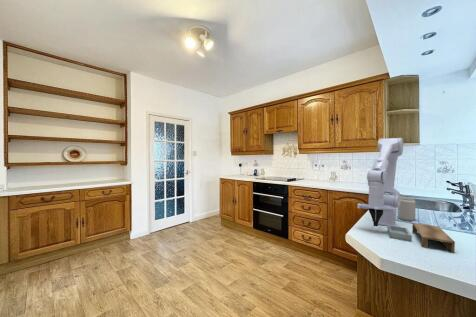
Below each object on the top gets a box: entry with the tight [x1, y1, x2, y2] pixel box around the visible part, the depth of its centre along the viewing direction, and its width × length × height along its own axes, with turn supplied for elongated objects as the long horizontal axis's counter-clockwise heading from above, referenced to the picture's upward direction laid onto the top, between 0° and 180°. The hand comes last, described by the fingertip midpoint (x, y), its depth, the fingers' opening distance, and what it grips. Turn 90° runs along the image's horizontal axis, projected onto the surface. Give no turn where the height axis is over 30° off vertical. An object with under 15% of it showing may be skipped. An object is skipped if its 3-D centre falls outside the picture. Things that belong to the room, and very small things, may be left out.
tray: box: [387, 225, 413, 243], centre depth 88 cm, size 7×10×3 cm
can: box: [397, 196, 417, 222], centre depth 111 cm, size 8×8×12 cm
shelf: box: [411, 222, 456, 254], centre depth 83 cm, size 9×18×4 cm, turn 149°
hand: (375, 225), depth 93 cm, fingers closed
